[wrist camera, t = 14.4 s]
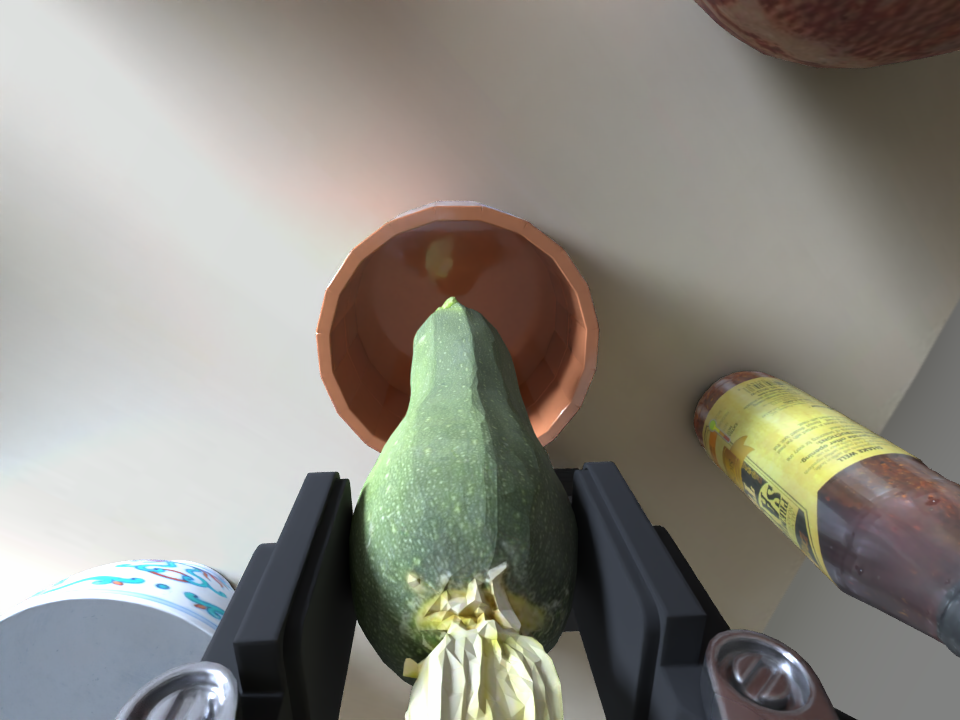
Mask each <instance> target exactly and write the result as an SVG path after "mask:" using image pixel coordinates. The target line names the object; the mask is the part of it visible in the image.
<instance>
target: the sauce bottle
mask: <svg viewBox="0 0 960 720" xmlns="http://www.w3.org/2000/svg"><path fill="white" fill-rule="evenodd" d="M694 428H695V432H696V434H697V437H698V439H699V441H700V444H701V446H702V447H704V448H705V450H706V453H707V454H708V456H709V457H710V459H711V460H712V461H713V462H714V463H715V464H716V465H717V466H718V467H719V468H720V469H721V470H722V471H723V472H724V473H725V474H726V475H727V476H728V477H729V478H730V479H731V480H732V481H733V482H734V483H735V484H736V485H737V486H738V487H739V488H740V489H741V490H742V491H743V493H744V494H745V495H746V496H747V497H748V498H749V499H750V500H751V501H752V502H753V503H754V504H755V505H756V506H757V507H758V508H759V509H760V510H761V511H762V512H763V513H764V514H765V515H766V516H767V517H768V518H769V519H770V520H771V521H772V522H773V523H774V524H775V525H776V526H777V527H778V528H779V529H780V530H781V531H782V532H783V533H784V534H785V535H786V536H787V537H788V538H789V539H790V540H791V541H792V542H793V543H794V544H795V545H796V546H797V547H798V548H799V549H800V550H801V551H802V552H803V553H804V554H805V555H806V556H807V557H808V558H809V559H810V560H811V561H812V562H813V563H814V564H815V565H816V566H817V567H818V568H819V569H820V570H821V571H822V572H823V573H824V574H825V575H826V576H827V577H828V578H829V579H830V580H831V581H832V582H833V583H834V584H835V585H836V586H837V587H838V588H839V589H840V590H841V591H843V592H844V593H846V594H848V595H850V596H852V597H854V598H856V599H858V600H860V601H862V602H864V603H866V604H868V605H871V606H872V607H875V608H877V609H879V610H881V611H882V612H884V613H886V614H888V615H890V616H892V617H894V618H896V619H898V620H900V621H902V622H904V623H905V624H907V625H909V626H911V627H913V628H915V629H917V630H919V631H921V632H923V633H925V634H926V635H928V636H930V637H932V638H934V639H936V640H937V641H939V642H941V643H943V644H945V645H946V646H947V647H948V648H949V650H951V652H953V653H954V654H955V655H956V656H958V657H960V485H959V484H957V483H955V482H952V481H950V480H948V479H946V478H944V477H943V476H941V475H940V474H939V473H937V472H935V471H932V470H931V469H929V468H928V467H927V466H926V465H925V464H924V463H923V462H922V461H921V460H920V459H918V458H917V457H915V456H913V455H912V454H910V453H908V452H906V451H905V450H903V449H901V448H899V447H898V446H896V445H894V444H892V443H891V442H889V441H887V440H886V439H884V438H882V437H881V436H879V435H877V434H876V433H874V432H872V431H870V430H869V429H867V428H865V427H863V426H862V425H860V424H858V423H856V422H855V421H853V420H851V419H850V418H848V417H846V416H845V415H843V414H841V413H840V412H838V411H836V410H834V409H833V408H831V407H829V406H827V405H826V404H824V403H822V402H821V401H819V400H817V399H816V398H814V397H812V396H810V395H809V394H807V393H805V392H803V391H801V390H800V389H798V388H796V387H794V386H793V385H791V384H789V383H787V382H785V381H783V380H780V379H777V378H775V377H773V376H771V375H768V374H766V373H763V372H758V371H740V372H735V373H732V374H730V375H727V376H724V377H722V378H721V379H720V380H718V381H717V382H715V383H714V384H712V385H711V387H710V388H709V389H708V390H707V391H706V392H705V393H704V394H703V396H702V397H701V399H700V400H699V402H698V404H697V406H696V409H695V413H694Z"/></svg>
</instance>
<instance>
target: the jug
mask: <svg viewBox="0 0 960 720" xmlns="http://www.w3.org/2000/svg"><path fill="white" fill-rule="evenodd" d="M695 2H696V3H697V4H698V5H699V6H700V7H701V8H702V9H703V10H704V11H705V12H706V13H707V14H708V15H709V16H710V17H711V18H712V19H713V20H714V21H715V22H716V23H718V24H719V25H720V26H721V27H723V28H724V29H725V30H726V31H728V32H729V33H730V34H731V35H733V36H734V37H736V38H738V39H739V40H741V41H743V42H744V43H746V44H748V45H749V46H751V47H753V48H754V49H756V50H758V51H759V52H761V53H763V54H765V55H768V56H771V57H774V58H778V59H782V60H786V61H790V62H794V63H798V64H802V65H806V66H811V67H815V68H871V67H877V66H882V65H888V64H894V63H899V62H905V61H911V60H917V59H922V58H927V57H931V56H936V55H941V54H946V53H951V52H954V51H957V50H960V0H695Z"/></svg>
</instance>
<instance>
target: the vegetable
mask: <svg viewBox="0 0 960 720" xmlns="http://www.w3.org/2000/svg"><path fill="white" fill-rule="evenodd" d="M410 386H411V397H410V403H409V407H408V411H407V414H406V416H405V417H404V419H403V420H402V421H401V423H400V424H399V425H398V427H397V428H396V429H395V431H394V432H393V434H392V435H391V436H390V438H389V439H388V441H387V442H386V444H385V445H384V447H383V449H382V452H381V454H380V456H379V458H378V460H377V462H376V464H375V465H374V467H373V469H372V471H371V472H370V474H369V476H368V477H367V480H366V482H365V484H364V486H363V488H362V490H361V493H360V496H359V499H358V502H357V505H356V508H355V511H354V514H353V516H352V521H351V528H350V535H349V570H350V582H351V590H352V597H353V604H354V611H355V615H356V618H357V620H358V623H359V625H360V627H361V629H362V631H363V632H364V634H365V636H366V638H367V639H368V641H369V642H370V644H371V645H372V646H373V648H374V649H375V651H376V652H377V654H378V655H379V657H380V658H381V660H382V661H383V662H384V663H385V664H386V665H387V666H388V667H389V668H390V669H391V670H392V671H394V672H395V673H396V674H397V675H398V676H399V677H400V678H401V679H402V680H403V681H405V682H407V683H408V684H410V685H412V686H413V687H412V689H411V693H410V700H409V707H408V710H407V712H406V713H405V720H563V708H562V695H561V684H560V680H559V676H558V674H557V671H556V669H555V667H554V664H553V662H552V660H551V658H550V657H549V656H548V655H547V653H548V652H549V651H550V650H551V649H552V648H553V647H554V646H555V645H556V643H557V641H558V639H559V638H560V636H561V634H562V632H563V631H564V629H565V626H566V623H567V620H568V618H569V615H570V612H571V607H572V601H573V595H574V588H575V582H576V576H577V559H578V527H577V522H576V518H575V514H574V511H573V509H572V506H571V504H570V501H569V498H568V495H567V493H566V491H565V489H564V487H563V485H562V483H561V482H560V480H559V478H558V477H557V475H556V473H555V472H554V470H553V467H552V465H551V462H550V460H549V457H548V454H547V452H546V451H545V449H544V448H543V446H542V445H541V443H540V441H539V440H538V438H537V436H536V434H535V432H534V430H533V427H532V425H531V422H530V420H529V417H528V414H527V411H526V408H525V405H524V402H523V400H522V397H521V394H520V390H519V385H518V381H517V376H516V372H515V368H514V364H513V360H512V357H511V355H510V352H509V350H508V348H507V347H506V345H505V343H504V341H503V340H502V338H501V336H500V334H499V333H498V331H497V329H496V328H495V327H494V326H493V325H492V324H491V323H490V322H489V321H488V320H487V319H486V318H485V317H484V316H483V315H482V314H481V313H479V312H477V311H476V310H473V309H470V308H467V307H465V306H464V305H462V304H461V303H459V302H458V301H457V300H456V297H450V298H448V299H447V300H446V301H445V303H444V304H443V306H442V307H438V308H437V310H436V311H435V312H434V313H433V314H431V315H430V316H429V318H428V319H427V320H426V321H425V322H424V324H423V325H422V326H421V327H420V328H419V330H418V331H417V333H416V335H415V337H414V341H413V358H412V367H411V379H410Z"/></svg>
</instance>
